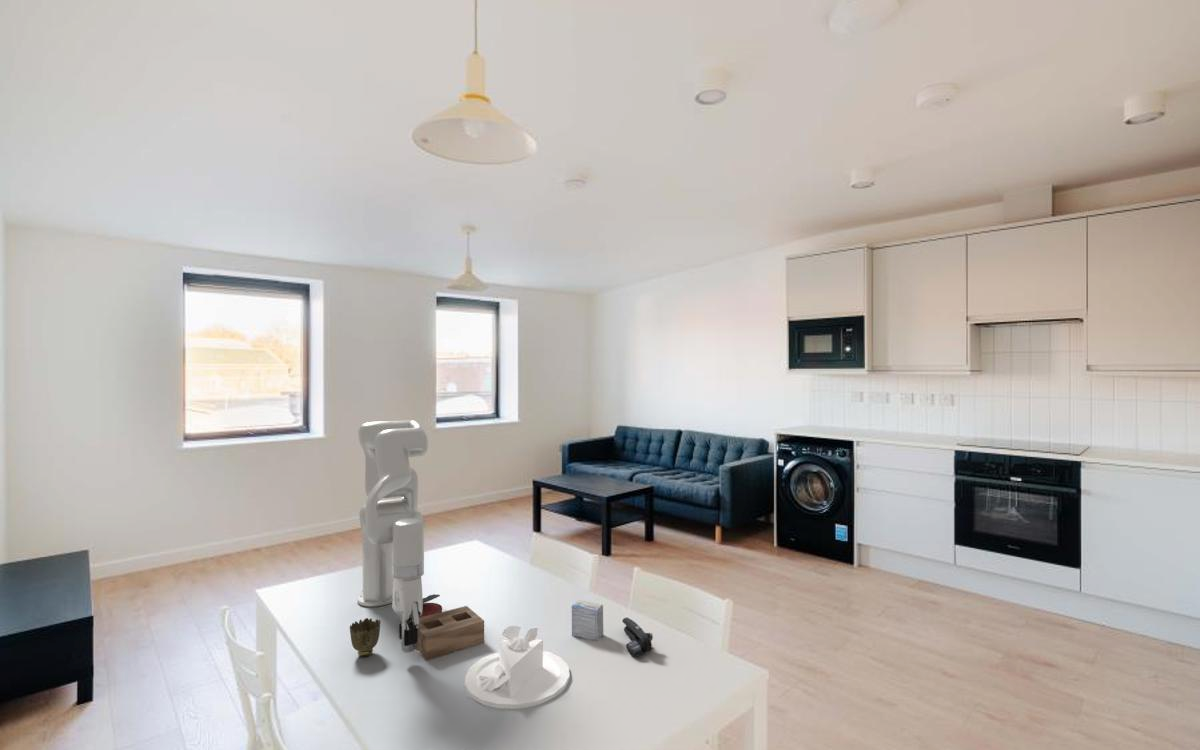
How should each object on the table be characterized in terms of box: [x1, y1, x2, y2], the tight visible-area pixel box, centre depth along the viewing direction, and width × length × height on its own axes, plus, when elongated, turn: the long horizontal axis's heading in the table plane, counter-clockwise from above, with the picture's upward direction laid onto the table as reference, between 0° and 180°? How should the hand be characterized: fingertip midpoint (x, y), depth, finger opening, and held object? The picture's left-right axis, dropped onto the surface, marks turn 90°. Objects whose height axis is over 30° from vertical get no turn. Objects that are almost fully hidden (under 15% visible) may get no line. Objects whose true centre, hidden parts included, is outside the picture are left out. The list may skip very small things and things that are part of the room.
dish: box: [463, 625, 571, 710], centre depth 137 cm, size 25×25×11 cm
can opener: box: [622, 617, 654, 657], centre depth 155 cm, size 18×7×6 cm, turn 13°
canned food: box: [419, 593, 443, 618], centre depth 169 cm, size 11×10×10 cm
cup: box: [348, 617, 381, 658], centre depth 148 cm, size 8×7×8 cm
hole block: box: [415, 605, 485, 661], centre depth 155 cm, size 12×16×6 cm
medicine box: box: [571, 599, 604, 642], centre depth 159 cm, size 8×4×9 cm, turn 65°
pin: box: [401, 614, 416, 653], centre depth 144 cm, size 3×3×9 cm
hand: (408, 640), depth 144 cm, fingers closed on pin, 3 cm apart
